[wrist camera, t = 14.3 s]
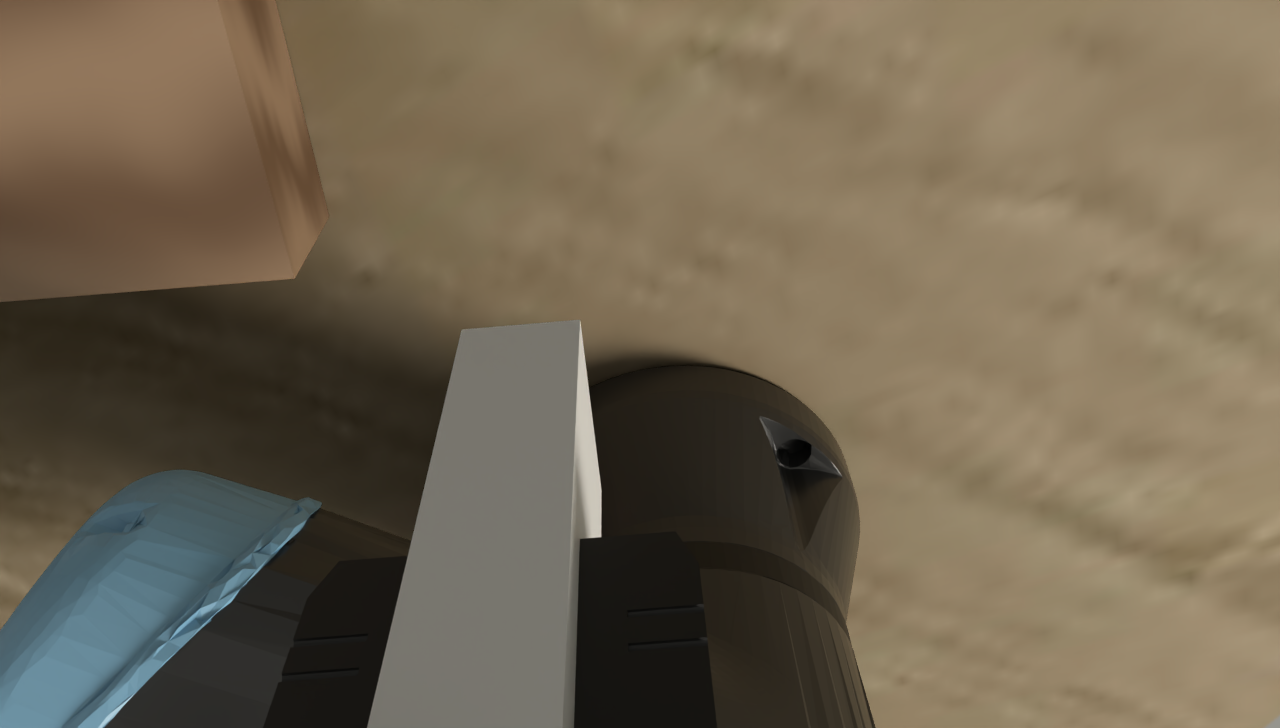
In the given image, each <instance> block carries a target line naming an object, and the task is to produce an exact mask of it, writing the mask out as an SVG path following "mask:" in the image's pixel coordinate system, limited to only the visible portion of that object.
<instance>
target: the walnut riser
mask: <svg viewBox="0 0 1280 728" xmlns="http://www.w3.org/2000/svg"><path fill="white" fill-rule="evenodd" d="M328 218H329V213H328V209H327V205H326V201H325V197H324V193H323V189H322V185H321V181H320V177H319V173H318V169H317V165H316V161H315V157H314V153H313V149H312V145H311V141H310V137H309V133H308V129H307V125H306V121H305V117H304V113H303V109H302V105H301V101H300V97H299V93H298V89H297V85H296V81H295V77H294V73H293V69H292V65H291V61H290V57H289V53H288V49H287V45H286V41H285V37H284V33H283V29H282V25H281V21H280V17H279V13H278V9H277V5H276V1H275V0H0V302H8V301H20V300H33V299H46V298H58V297H71V296H83V295H96V294H109V293H121V292H134V291H146V290H159V289H171V288H184V287H197V286H209V285H222V284H234V283H247V282H260V281H272V280H285V279H295V277H296V275H297V274H298V272H299V270H300V268H301V267H302V265H303V263H304V261H305V259H306V258H307V256H308V254H309V252H310V250H311V249H312V247H313V245H314V243H315V242H316V240H317V238H318V236H319V234H320V233H321V231H322V229H323V227H324V225H325V224H326V222H327V220H328Z"/></svg>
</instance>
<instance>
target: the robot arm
mask: <svg viewBox="0 0 1280 728" xmlns="http://www.w3.org/2000/svg"><path fill="white" fill-rule="evenodd" d="M321 506H322V502H319V501H317V500H314V499H311V498H310V497H306V498H302V499H300V500H298V501H296V500H293V499H290V498H286V497H283V496H280V495H276V494H273V493H270V492H266V491H263V490H260V489H256V488H253V487H250V486H246V485H243V484H240V483H236V482H233V481H230V480H226V479H223V478H220V477H216V476H213V475H210V474H206V473H203V472H198V471H192V470H169V471H163V472H158V473H154V474H151V475H148V476H146V477H143V478H141V479H139V480H137V481H135V482H133V483H131V484H129V485H128V486H126V487H125V488H123V489H122V490H120V491H119V492H118V493H117V494H115V495H114V496H113V497H112V498H110V499H109V500H108V501H107V502H106V503H104V504H103V505H102V506H101V507H100V508H99V509H98V510H97V511H96V512H95V513H94V514H93V515H92V516H91V517H90V518H89V519H88V520H87V521H86V522H85V524H84V525H83V526H82V527H81V528H80V529H79V530H78V531H77V532H76V534H75V535H74V536H73V537H72V538H71V539H70V540H69V542H68V543H67V544H66V545H65V547H64V548H63V549H62V550H61V551H60V553H59V554H58V555H57V556H56V557H55V559H54V560H53V561H52V562H51V564H50V565H49V566H48V568H47V569H46V570H45V571H44V573H43V574H42V575H41V576H40V578H39V579H38V580H37V582H36V583H35V584H34V585H33V587H32V588H31V589H30V591H29V592H28V593H27V595H26V596H25V597H24V598H23V600H22V601H21V603H20V604H19V605H18V607H17V608H16V609H15V611H14V612H13V614H12V615H11V616H10V618H9V619H8V621H7V622H6V623H5V625H4V626H3V628H2V629H1V630H0V728H875V724H874V721H873V717H872V714H871V710H870V707H869V703H868V700H867V697H866V693H865V690H864V686H863V683H862V679H861V676H860V672H859V669H858V666H857V662H856V659H855V655H854V651H853V649H852V645H851V641H850V637H849V633H848V629H847V626H846V620H847V613H848V607H849V601H850V595H851V589H852V582H853V576H854V570H855V564H856V558H857V551H858V545H859V536H860V518H859V508H858V502H857V497H856V493H855V490H854V487H853V483H852V480H851V477H850V474H849V471H848V468H847V465H846V461H845V459H844V456H843V454H842V451H841V449H840V447H839V445H838V443H837V441H836V440H835V438H834V437H833V435H832V434H831V432H830V431H829V429H828V428H827V427H826V426H825V424H824V423H823V422H822V421H821V420H820V419H819V418H818V416H817V415H816V414H815V413H814V412H812V411H811V410H810V409H809V408H808V407H807V406H806V405H804V404H803V403H802V402H800V401H799V400H798V399H796V398H795V397H793V396H792V395H790V394H789V393H787V392H785V391H784V390H782V389H780V388H778V387H776V386H774V385H772V384H770V383H768V382H765V381H763V380H760V379H758V378H755V377H752V376H749V375H746V374H742V373H739V372H734V371H730V370H725V369H719V368H712V367H702V366H668V367H659V368H652V369H646V370H640V371H636V372H632V373H628V374H624V375H621V376H618V377H615V378H612V379H609V380H607V381H604V382H602V383H599V384H597V385H595V386H593V387H591V388H589V387H588V379H587V371H586V363H585V355H584V347H583V339H582V331H581V323H580V320H571V321H559V322H547V323H535V324H523V325H511V326H499V327H487V328H475V329H463V330H461V335H460V339H459V343H458V347H457V351H456V356H455V360H454V364H453V368H452V372H451V377H450V381H449V385H448V389H447V393H446V398H445V402H444V406H443V410H442V415H441V419H440V423H439V427H438V431H437V436H436V440H435V444H434V448H433V452H432V457H431V461H430V465H429V469H428V473H427V478H426V482H425V486H424V490H423V494H422V499H421V503H420V507H419V511H418V515H417V520H416V524H415V528H414V532H413V536H412V541H410V540H407V539H405V538H402V537H399V536H396V535H393V534H391V533H388V532H385V531H382V530H379V529H377V528H374V527H371V526H368V525H365V524H363V523H360V522H357V521H354V520H351V519H349V518H346V517H343V516H340V515H337V514H335V513H332V512H329V511H326V510H323V509H321V508H320V507H321Z"/></svg>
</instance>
